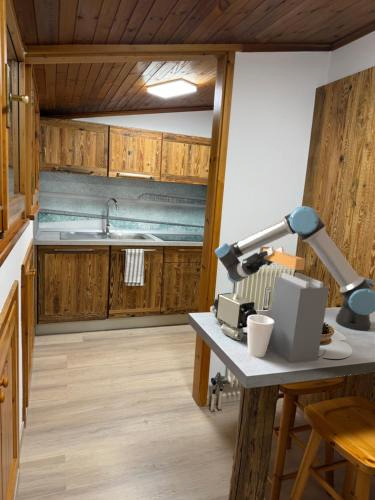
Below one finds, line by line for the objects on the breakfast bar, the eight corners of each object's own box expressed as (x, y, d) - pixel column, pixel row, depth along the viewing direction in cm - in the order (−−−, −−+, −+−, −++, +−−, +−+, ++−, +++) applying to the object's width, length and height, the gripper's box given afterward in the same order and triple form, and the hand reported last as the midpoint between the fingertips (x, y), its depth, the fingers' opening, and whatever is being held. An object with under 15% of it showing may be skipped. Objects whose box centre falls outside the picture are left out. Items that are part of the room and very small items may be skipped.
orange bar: (268, 258, 149) (269, 247, 148) (304, 270, 127) (306, 258, 126) (258, 257, 147) (260, 246, 146) (293, 270, 125) (295, 257, 125)
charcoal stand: (291, 341, 140) (301, 272, 135) (317, 359, 126) (329, 282, 121) (266, 344, 135) (275, 272, 131) (290, 362, 122) (301, 283, 117)
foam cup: (238, 349, 129) (242, 316, 127) (257, 345, 133) (261, 313, 131) (255, 361, 121) (259, 325, 118) (275, 356, 125) (279, 322, 123)
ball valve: (256, 343, 136) (262, 299, 133) (240, 347, 131) (246, 302, 128) (225, 326, 150) (230, 286, 147) (210, 329, 145) (214, 288, 142)
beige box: (205, 304, 154) (222, 302, 160) (203, 320, 155) (220, 317, 161) (218, 311, 146) (236, 308, 152) (217, 327, 148) (234, 324, 153)
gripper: (265, 274, 161) (297, 259, 141) (233, 275, 155) (261, 258, 134) (263, 259, 163) (293, 241, 143) (230, 259, 157) (257, 240, 137)
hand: (277, 250), depth 139 cm, fingers closed on orange bar, 4 cm apart
